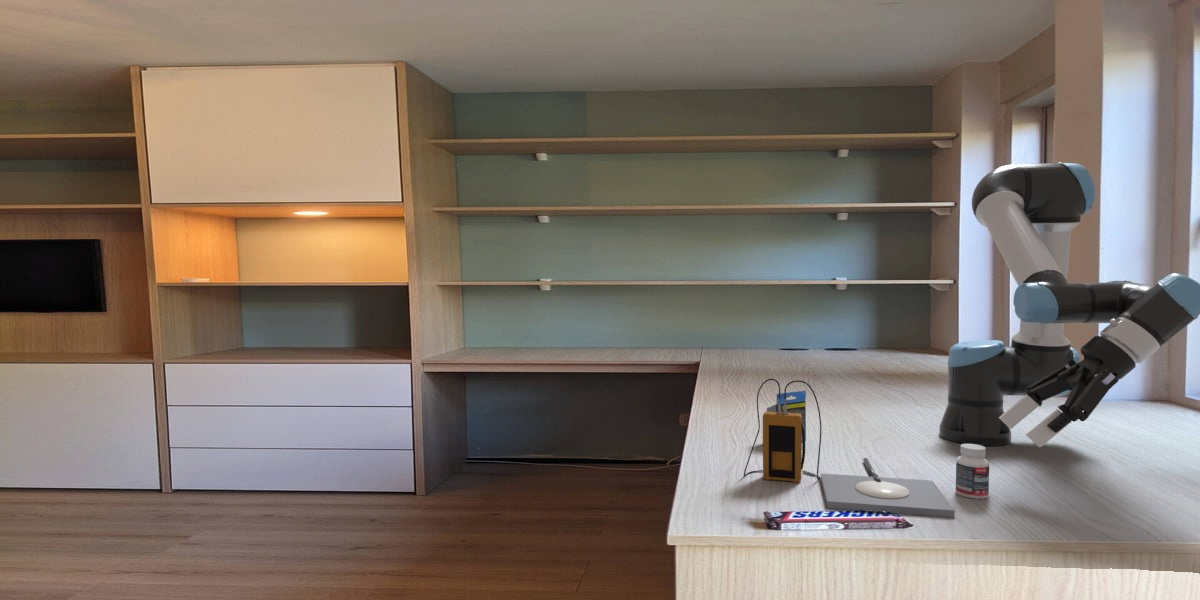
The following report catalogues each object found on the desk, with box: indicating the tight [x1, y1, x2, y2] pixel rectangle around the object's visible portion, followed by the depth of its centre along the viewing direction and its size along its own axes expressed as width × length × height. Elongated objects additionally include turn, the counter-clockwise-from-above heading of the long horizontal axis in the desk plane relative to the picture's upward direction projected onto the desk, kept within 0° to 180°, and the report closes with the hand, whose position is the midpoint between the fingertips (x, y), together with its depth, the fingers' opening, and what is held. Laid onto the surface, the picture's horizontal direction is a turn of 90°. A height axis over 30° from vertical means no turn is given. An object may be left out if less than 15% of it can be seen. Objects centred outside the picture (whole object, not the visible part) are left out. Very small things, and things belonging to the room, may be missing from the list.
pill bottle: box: [955, 443, 990, 500], centre depth 122 cm, size 5×5×9 cm
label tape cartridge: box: [766, 390, 807, 443], centre depth 159 cm, size 9×4×12 cm, turn 114°
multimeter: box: [743, 378, 822, 483], centre depth 134 cm, size 15×10×20 cm
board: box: [820, 457, 956, 519], centre depth 128 cm, size 30×20×2 cm, turn 166°
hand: (1017, 431), depth 119 cm, fingers open, 13 cm apart
